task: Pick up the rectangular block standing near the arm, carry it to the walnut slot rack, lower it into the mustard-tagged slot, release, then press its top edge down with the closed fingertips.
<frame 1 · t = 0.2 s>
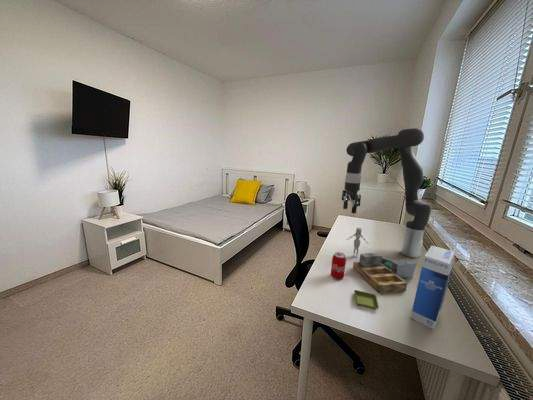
hand: (349, 210, 115), 29 cm above the table, fingers open, 8 cm apart
beverage can: (337, 277, 104), on the table
rectangular block: (401, 277, 106), on the table
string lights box: (425, 315, 81), on the table
digital multimeter: (377, 263, 119), on the table
saucer: (364, 303, 88), on the table
rack: (377, 278, 104), on the table
human figurine: (355, 257, 125), on the table
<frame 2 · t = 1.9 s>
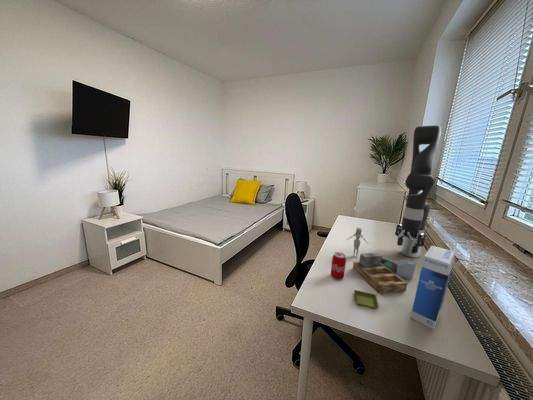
hand: (406, 249, 102), 15 cm above the table, fingers open, 8 cm apart
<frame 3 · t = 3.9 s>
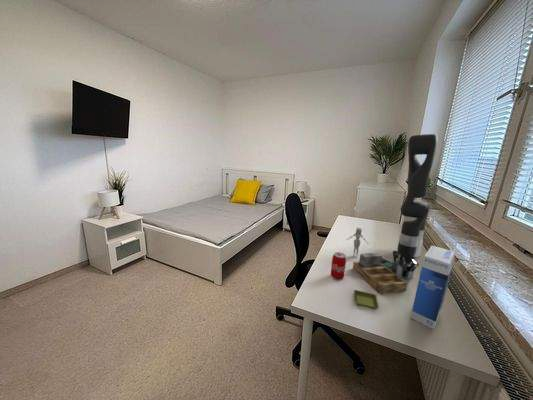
hand: (401, 274, 106), 1 cm above the table, fingers closed on rectangular block, 3 cm apart
rectangular block: (401, 276, 106), on the table, touching gripper
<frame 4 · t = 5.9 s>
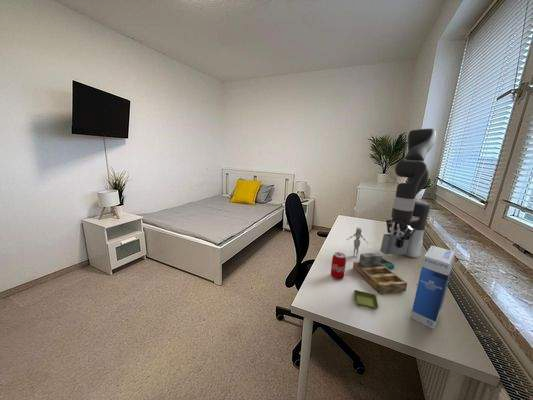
hand: (395, 245, 94), 20 cm above the table, fingers closed on rectangular block, 3 cm apart
rectangular block: (392, 252, 94), point 17 cm above the table, touching gripper
when the fingers open (5 cm above the table, at t = 8.3 s): rectangular block stays where it is, resting on rack.
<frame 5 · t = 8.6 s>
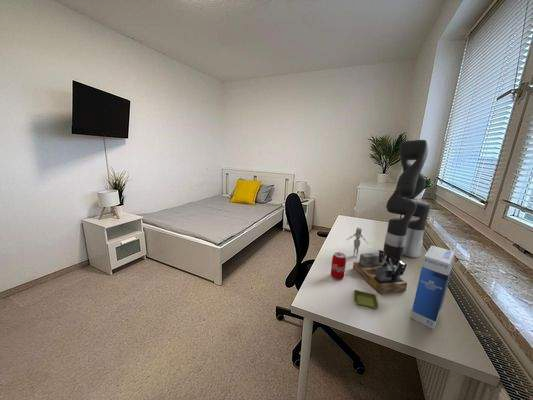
hand: (388, 276, 96), 5 cm above the table, fingers open, 5 cm apart
rectangular block: (386, 284, 97), point 2 cm above the table, touching rack
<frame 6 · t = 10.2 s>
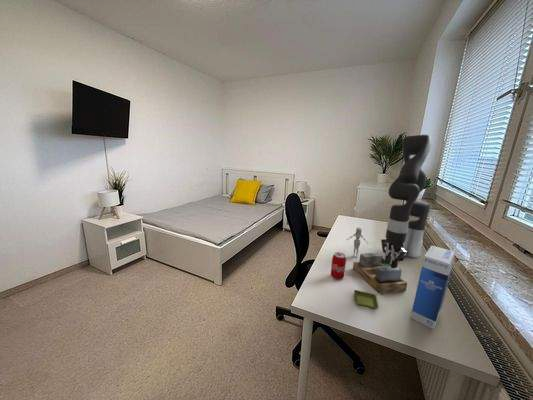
hand: (390, 265, 95), 11 cm above the table, fingers open, 3 cm apart
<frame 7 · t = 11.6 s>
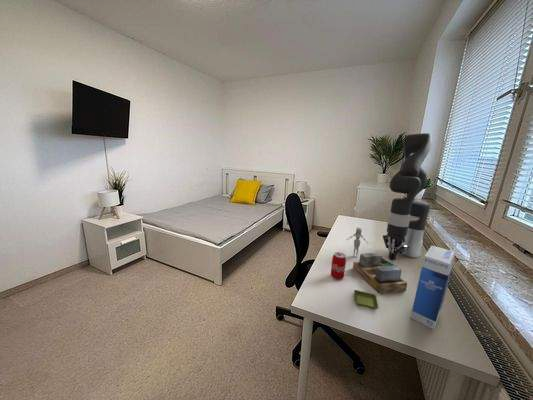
hand: (391, 259, 94), 14 cm above the table, fingers closed
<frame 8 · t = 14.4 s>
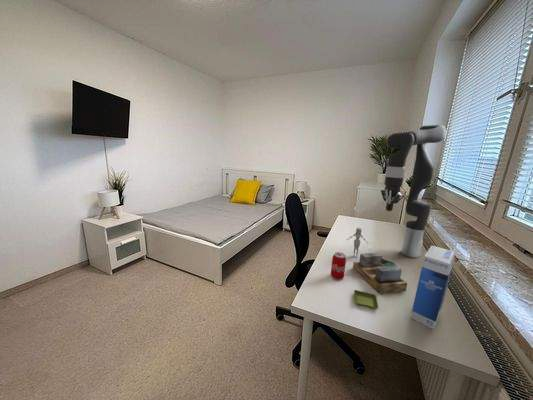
hand: (388, 210, 106), 32 cm above the table, fingers closed
at the end: rectangular block 0.4 cm from the target spot on the rack, point 1.6 cm above the rack's base; rectangular block tilted 0°; the gripper is holding nothing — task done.
